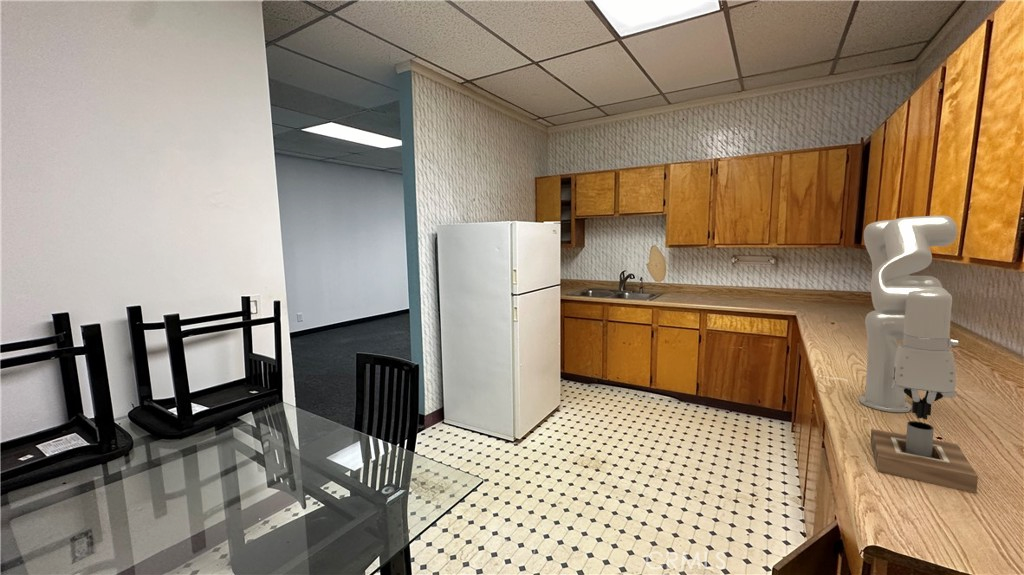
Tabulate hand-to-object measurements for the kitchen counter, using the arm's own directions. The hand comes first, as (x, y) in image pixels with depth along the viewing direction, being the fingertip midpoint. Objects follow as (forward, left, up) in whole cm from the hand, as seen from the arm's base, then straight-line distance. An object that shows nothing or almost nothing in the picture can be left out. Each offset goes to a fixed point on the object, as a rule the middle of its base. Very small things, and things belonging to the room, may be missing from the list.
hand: (920, 416), depth 97 cm
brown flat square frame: (0, 0, -13) cm, 13 cm away
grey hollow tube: (0, 0, -13) cm, 13 cm away
